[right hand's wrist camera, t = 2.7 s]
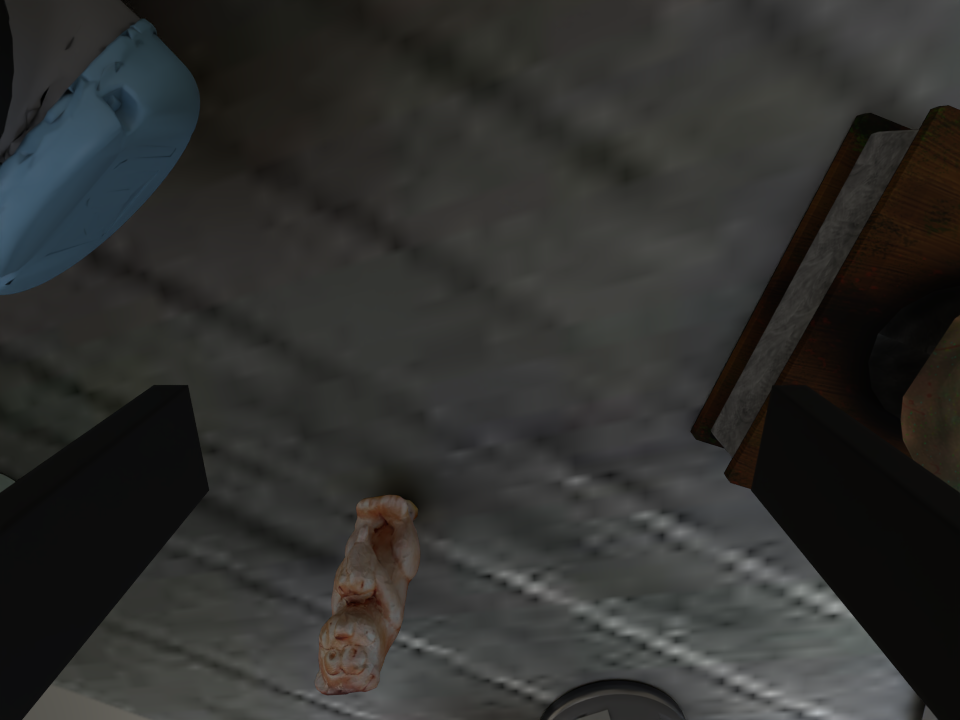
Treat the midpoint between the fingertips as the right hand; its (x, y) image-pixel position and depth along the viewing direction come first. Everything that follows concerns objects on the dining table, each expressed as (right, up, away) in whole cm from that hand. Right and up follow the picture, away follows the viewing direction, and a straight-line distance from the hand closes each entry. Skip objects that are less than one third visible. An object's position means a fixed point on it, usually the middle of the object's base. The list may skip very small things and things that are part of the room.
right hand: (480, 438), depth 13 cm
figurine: (-8, -11, +34) cm, 37 cm away
